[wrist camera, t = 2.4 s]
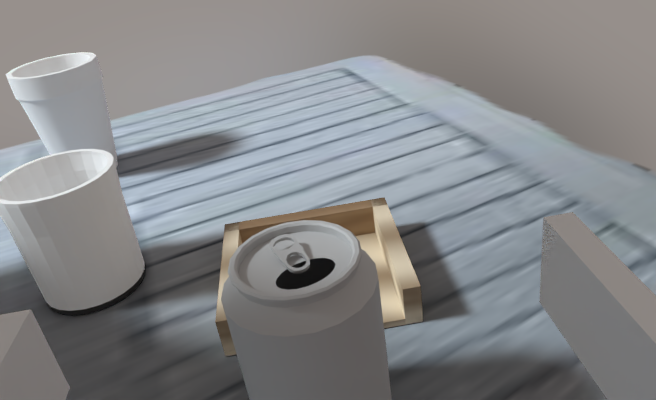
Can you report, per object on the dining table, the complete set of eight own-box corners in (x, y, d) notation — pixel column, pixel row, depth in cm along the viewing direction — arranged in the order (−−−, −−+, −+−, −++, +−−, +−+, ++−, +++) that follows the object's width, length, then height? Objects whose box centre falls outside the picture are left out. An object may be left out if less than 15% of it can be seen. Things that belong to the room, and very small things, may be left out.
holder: (423, 321, 38) (420, 286, 37) (225, 356, 38) (215, 322, 37) (387, 227, 49) (384, 197, 48) (232, 254, 49) (224, 224, 47)
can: (299, 517, 28) (250, 331, 22) (241, 414, 34) (191, 246, 28) (422, 440, 31) (408, 256, 25) (349, 357, 36) (324, 194, 31)
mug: (173, 270, 48) (137, 159, 43) (78, 335, 42) (24, 215, 37) (100, 238, 54) (61, 138, 49) (10, 290, 48) (-45, 183, 43)
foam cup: (64, 160, 73) (25, 60, 66) (137, 149, 73) (104, 47, 67) (39, 195, 64) (-9, 84, 58) (121, 182, 65) (82, 70, 58)
